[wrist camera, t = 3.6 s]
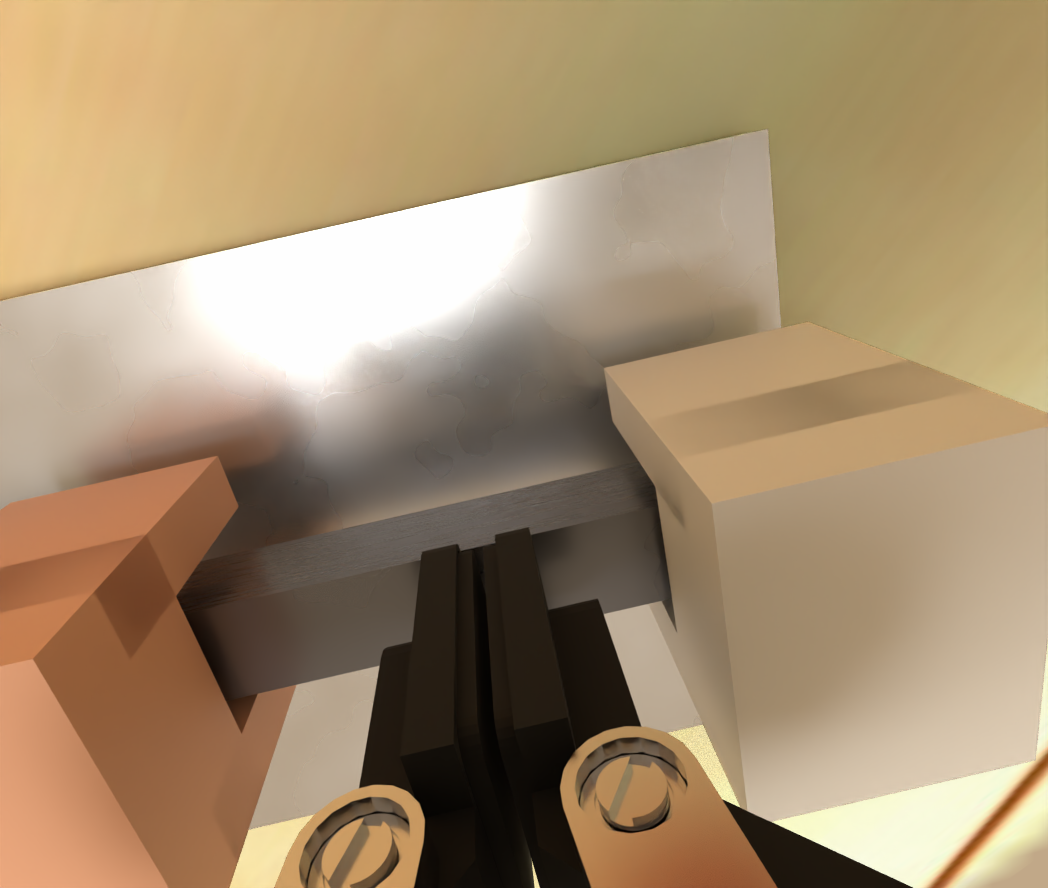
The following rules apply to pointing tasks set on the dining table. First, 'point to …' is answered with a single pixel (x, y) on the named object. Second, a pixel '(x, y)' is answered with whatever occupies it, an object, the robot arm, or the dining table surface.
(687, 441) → the fixed leg
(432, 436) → the bolt plate
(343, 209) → the dining table surface
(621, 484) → the beam
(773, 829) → the robot arm
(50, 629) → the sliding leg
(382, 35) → the dining table surface
